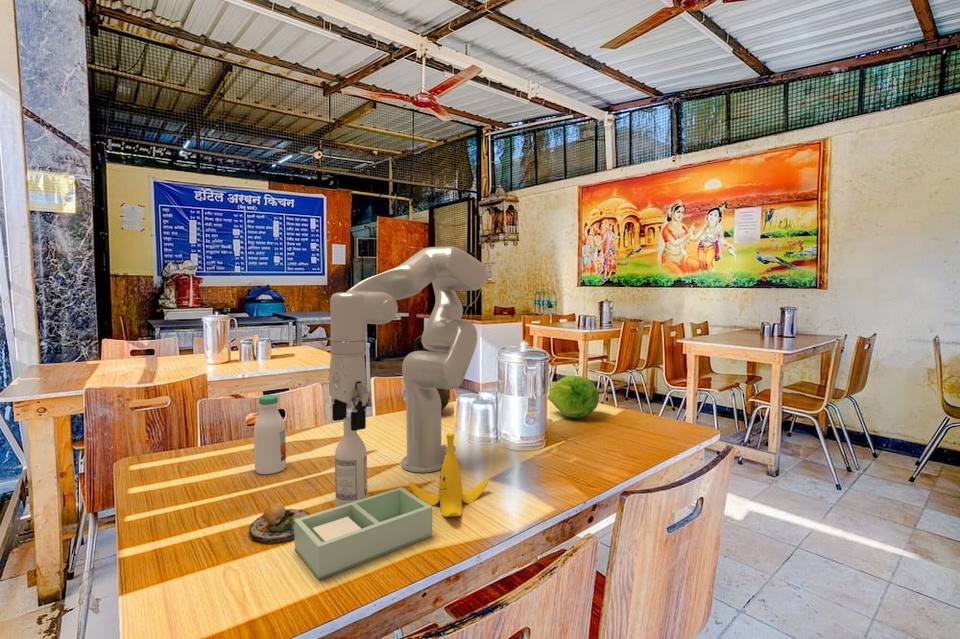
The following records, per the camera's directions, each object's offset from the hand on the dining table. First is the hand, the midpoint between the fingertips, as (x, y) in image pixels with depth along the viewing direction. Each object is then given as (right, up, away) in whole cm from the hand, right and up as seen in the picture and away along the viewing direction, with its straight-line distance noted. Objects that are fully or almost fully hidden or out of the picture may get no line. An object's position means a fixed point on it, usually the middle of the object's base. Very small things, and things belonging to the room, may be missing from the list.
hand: (348, 424), depth 109 cm
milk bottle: (-27, -17, +22) cm, 39 cm away
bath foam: (0, -19, +2) cm, 19 cm away
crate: (+7, -20, -14) cm, 26 cm away
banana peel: (+25, -19, +4) cm, 31 cm away
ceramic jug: (+10, -13, +77) cm, 79 cm away
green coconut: (+64, -13, +74) cm, 98 cm away
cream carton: (+3, -20, -18) cm, 27 cm away
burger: (-11, -20, -9) cm, 25 cm away
